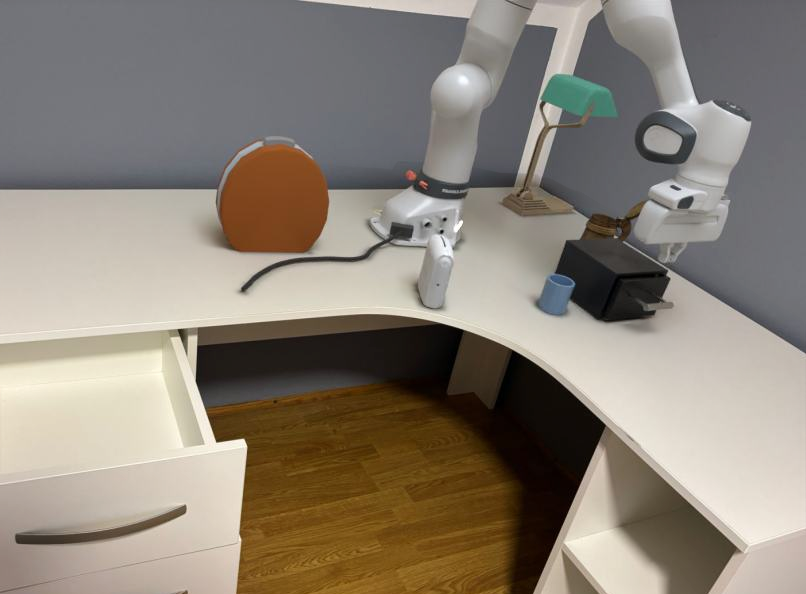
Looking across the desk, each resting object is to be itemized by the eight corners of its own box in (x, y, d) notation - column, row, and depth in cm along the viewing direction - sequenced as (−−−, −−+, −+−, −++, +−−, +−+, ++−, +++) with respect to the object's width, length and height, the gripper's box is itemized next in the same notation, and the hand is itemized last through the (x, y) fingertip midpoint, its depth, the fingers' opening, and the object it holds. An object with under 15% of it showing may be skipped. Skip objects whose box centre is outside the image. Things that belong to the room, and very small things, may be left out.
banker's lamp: (493, 198, 199) (530, 70, 181) (546, 196, 209) (586, 74, 191) (530, 221, 188) (573, 87, 170) (584, 217, 198) (630, 90, 180)
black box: (648, 314, 150) (668, 270, 144) (597, 319, 143) (616, 273, 138) (599, 280, 161) (616, 238, 156) (550, 283, 155) (566, 239, 150)
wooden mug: (628, 277, 166) (658, 205, 156) (571, 263, 167) (597, 191, 158) (623, 262, 173) (652, 193, 164) (569, 249, 175) (594, 180, 165)
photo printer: (443, 310, 136) (459, 252, 129) (422, 307, 135) (437, 249, 129) (435, 285, 144) (449, 230, 138) (415, 283, 144) (428, 227, 137)
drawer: (673, 328, 144) (691, 291, 139) (626, 334, 138) (643, 295, 133) (607, 282, 158) (621, 247, 154) (562, 286, 153) (575, 249, 148)
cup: (548, 316, 141) (559, 287, 138) (532, 302, 145) (541, 274, 142) (570, 314, 144) (580, 286, 140) (553, 300, 148) (563, 273, 144)
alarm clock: (310, 233, 157) (325, 132, 145) (322, 252, 149) (339, 148, 137) (211, 230, 149) (218, 124, 137) (218, 251, 141) (226, 140, 130)
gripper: (719, 187, 136) (690, 252, 143) (643, 187, 127) (616, 256, 134) (746, 199, 131) (714, 266, 138) (669, 200, 123) (640, 271, 130)
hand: (665, 261), depth 136 cm, fingers closed
